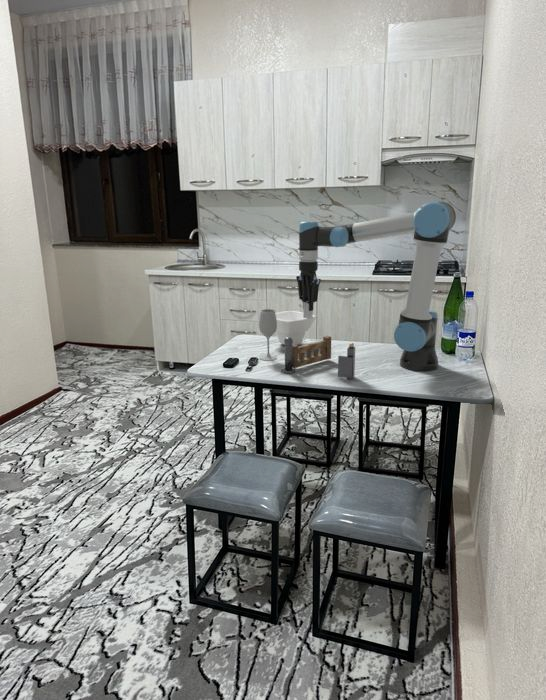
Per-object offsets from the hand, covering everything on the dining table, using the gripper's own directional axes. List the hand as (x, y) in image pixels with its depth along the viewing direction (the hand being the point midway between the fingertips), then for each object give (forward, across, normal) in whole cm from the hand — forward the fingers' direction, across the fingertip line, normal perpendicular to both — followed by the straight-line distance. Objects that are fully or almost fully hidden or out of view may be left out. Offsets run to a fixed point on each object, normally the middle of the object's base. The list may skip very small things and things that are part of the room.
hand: (307, 317), depth 217 cm
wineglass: (+19, -12, -12) cm, 25 cm away
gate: (+17, +6, -3) cm, 19 cm away
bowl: (+19, -24, +9) cm, 32 cm away
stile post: (+18, +27, -3) cm, 33 cm away
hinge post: (+18, +7, -16) cm, 25 cm away
